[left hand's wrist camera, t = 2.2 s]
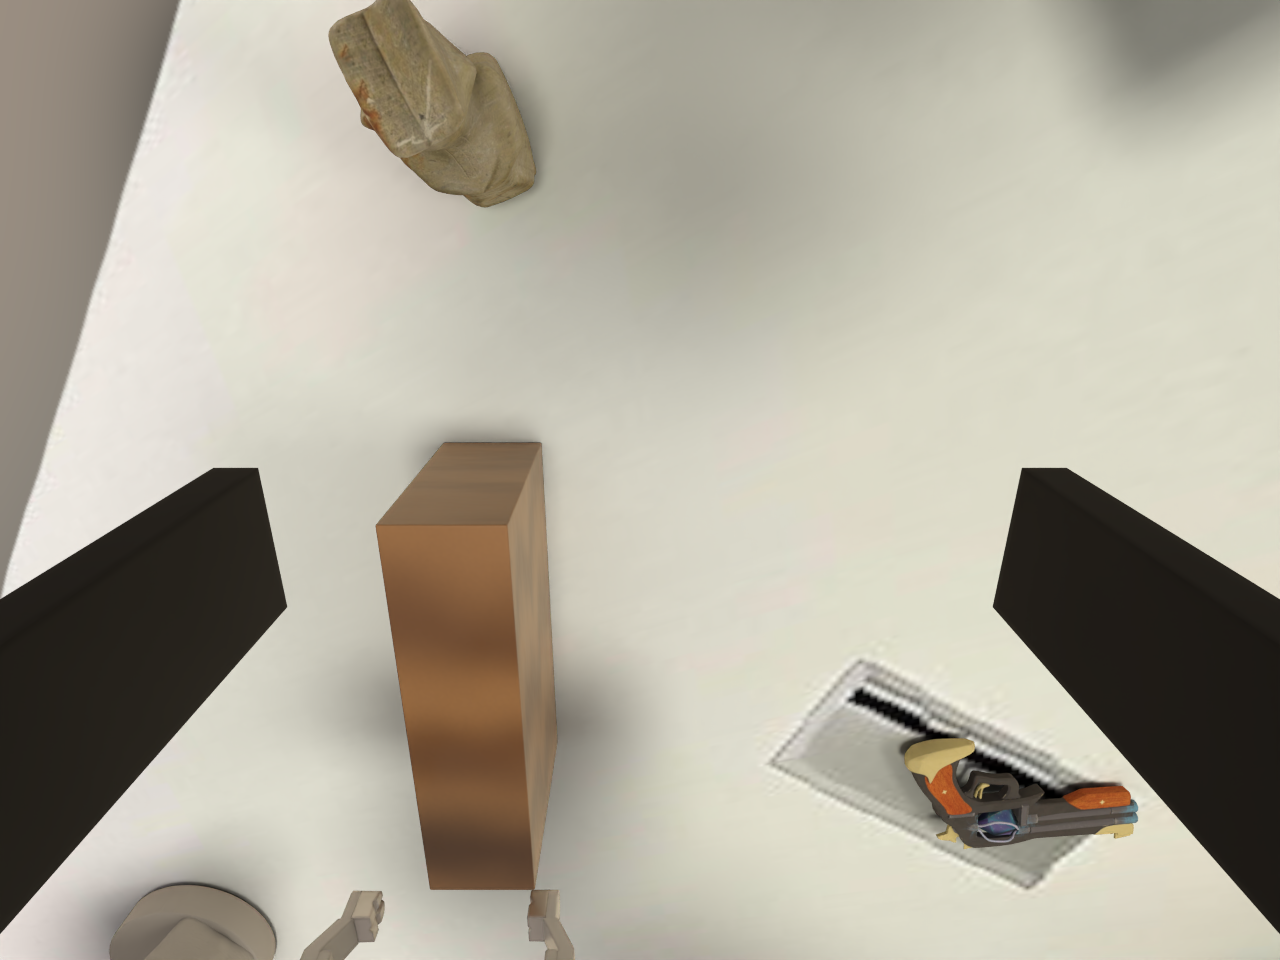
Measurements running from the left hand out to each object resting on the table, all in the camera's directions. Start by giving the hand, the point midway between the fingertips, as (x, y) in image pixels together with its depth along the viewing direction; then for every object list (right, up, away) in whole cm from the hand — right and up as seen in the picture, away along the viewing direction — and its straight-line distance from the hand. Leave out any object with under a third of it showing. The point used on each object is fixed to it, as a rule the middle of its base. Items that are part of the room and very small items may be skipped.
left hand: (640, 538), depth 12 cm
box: (-10, -8, +38) cm, 40 cm away
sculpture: (-8, +20, +27) cm, 35 cm away
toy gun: (+30, -23, +44) cm, 58 cm away
